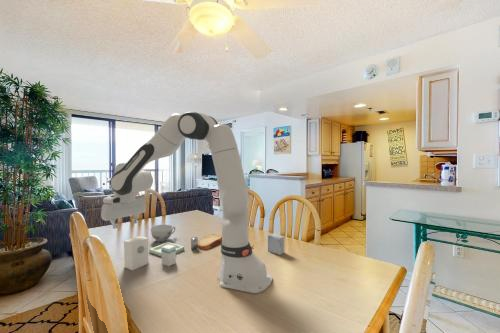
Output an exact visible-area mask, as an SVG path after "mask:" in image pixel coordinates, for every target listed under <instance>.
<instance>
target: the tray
mask: <svg viewBox="0 0 500 333" xmlns="http://www.w3.org/2000/svg"><path fill="white" fill-rule="evenodd" d="M168 244H169V245H173V246H176V254H177V255H178V254H179V253H182V252H183V251H185V246H184V245H180V244H177V243H173V242H169V241H167V242H165V243H162V244H159V245H157V246H154V247H151V248H148V254H151V255H155V256H157V257H161V258H162V254H161V247H163V246H165V245H168Z"/></svg>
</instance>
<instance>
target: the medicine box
mask: <svg viewBox="0 0 500 333" xmlns="http://www.w3.org/2000/svg"><path fill="white" fill-rule="evenodd" d="M267 252H270V253H273V254H276V255H278V256H280V255H283V254H284V253H285V236H282V235H279V234H275V233H271V234H268V235H267Z"/></svg>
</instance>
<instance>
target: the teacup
mask: <svg viewBox="0 0 500 333" xmlns="http://www.w3.org/2000/svg"><path fill="white" fill-rule="evenodd" d="M150 232H151V235H152V237H153V239H154V240H155V241H156V242H159V243H163V242H166V241H167V240H169V238H171V236H172V235H173V234H174V233H175V232H176V226H174V225H171V224H158V225H153V226H152V227H151V228H150Z"/></svg>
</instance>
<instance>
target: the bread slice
mask: <svg viewBox="0 0 500 333" xmlns="http://www.w3.org/2000/svg"><path fill="white" fill-rule="evenodd" d="M221 243H222V235H218V234H215V233H211V234H208V235H205V237H203V238H201V239H200V240H199V241H198V250H201V251H207V250H210V249H213V248H214V247H216V246H218V245H220V244H221Z"/></svg>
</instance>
